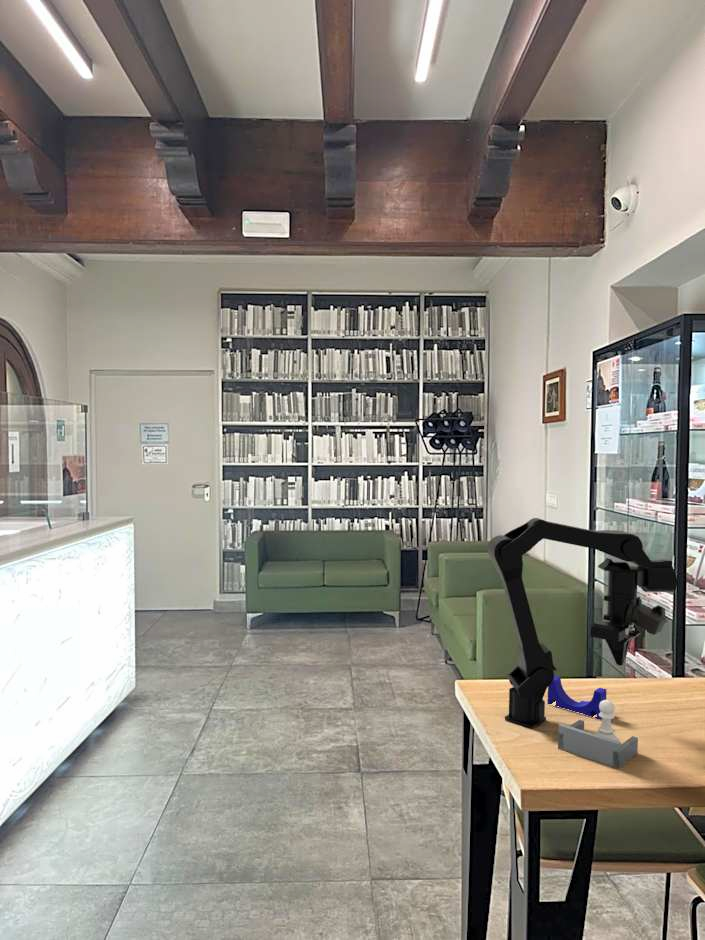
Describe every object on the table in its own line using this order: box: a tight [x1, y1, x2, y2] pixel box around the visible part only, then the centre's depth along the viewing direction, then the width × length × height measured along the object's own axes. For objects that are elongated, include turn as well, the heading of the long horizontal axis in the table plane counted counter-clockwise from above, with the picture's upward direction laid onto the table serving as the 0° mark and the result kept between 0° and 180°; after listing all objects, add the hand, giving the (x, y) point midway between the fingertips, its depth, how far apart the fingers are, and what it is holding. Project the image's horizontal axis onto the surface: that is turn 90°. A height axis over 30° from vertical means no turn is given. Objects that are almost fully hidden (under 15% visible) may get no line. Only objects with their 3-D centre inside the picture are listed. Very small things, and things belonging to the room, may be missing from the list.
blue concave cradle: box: [547, 675, 608, 720], centre depth 149 cm, size 12×4×6 cm, turn 47°
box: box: [557, 719, 639, 770], centre depth 129 cm, size 12×9×4 cm
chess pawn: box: [594, 699, 621, 742], centre depth 131 cm, size 5×5×9 cm
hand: (619, 664), depth 143 cm, fingers closed
